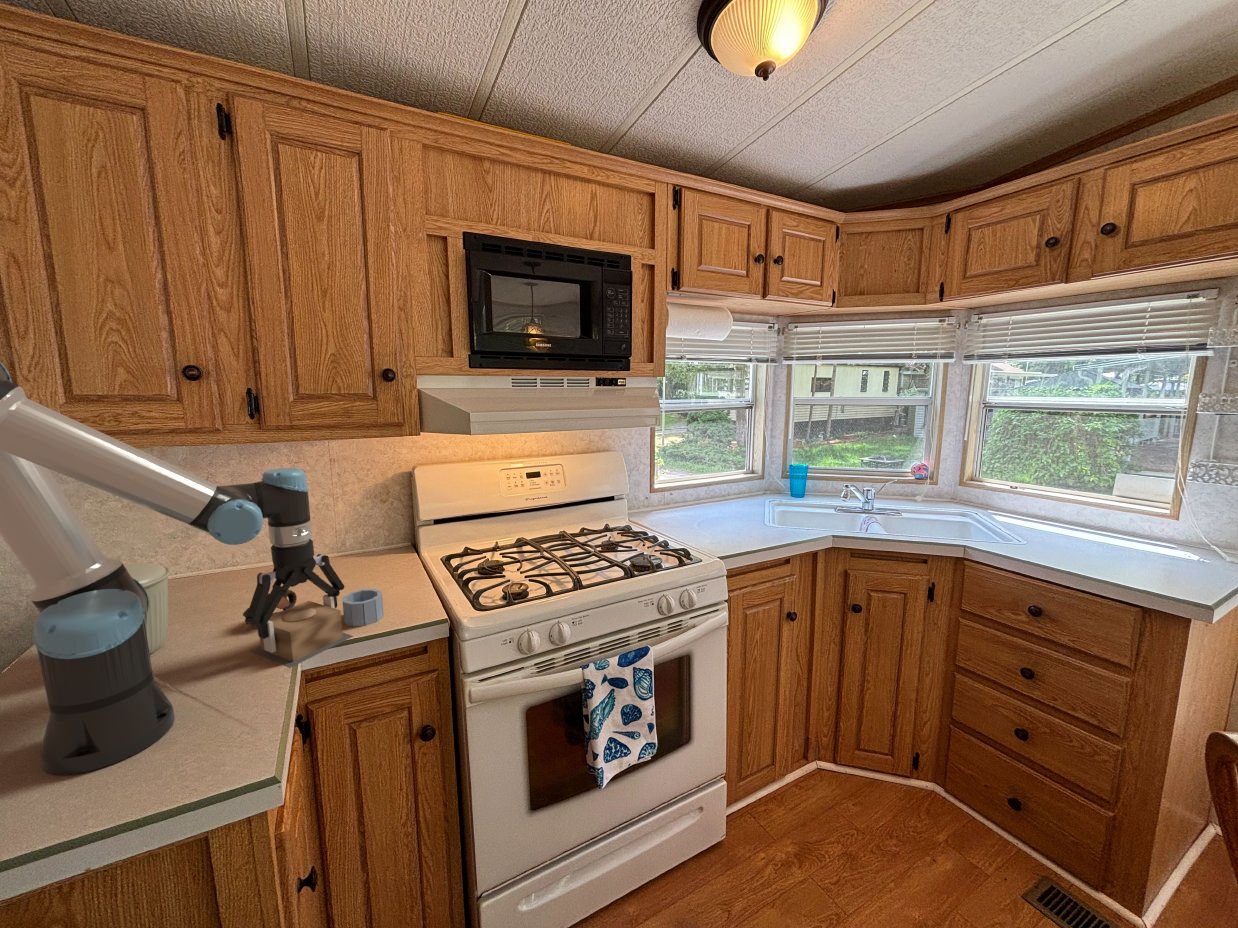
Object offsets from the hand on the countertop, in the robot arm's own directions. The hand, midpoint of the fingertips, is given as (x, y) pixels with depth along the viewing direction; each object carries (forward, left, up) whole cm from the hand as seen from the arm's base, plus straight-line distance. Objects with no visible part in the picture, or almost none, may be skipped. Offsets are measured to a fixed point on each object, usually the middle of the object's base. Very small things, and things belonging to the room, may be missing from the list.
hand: (302, 636), depth 111 cm
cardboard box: (0, 0, -2) cm, 2 cm away
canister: (-19, +30, -2) cm, 35 cm away
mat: (0, 0, -2) cm, 2 cm away
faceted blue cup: (+14, -1, -2) cm, 14 cm away
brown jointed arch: (+4, +16, -2) cm, 17 cm away
